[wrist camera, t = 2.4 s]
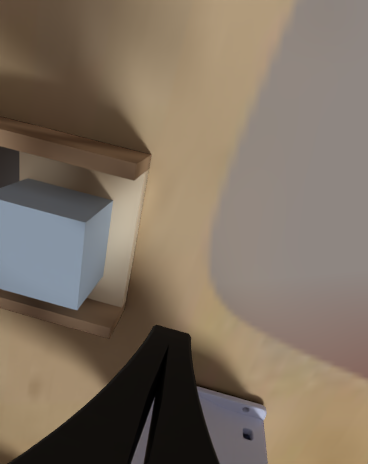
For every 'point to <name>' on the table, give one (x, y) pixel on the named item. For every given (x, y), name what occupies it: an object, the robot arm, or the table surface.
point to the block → (52, 241)
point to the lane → (90, 182)
